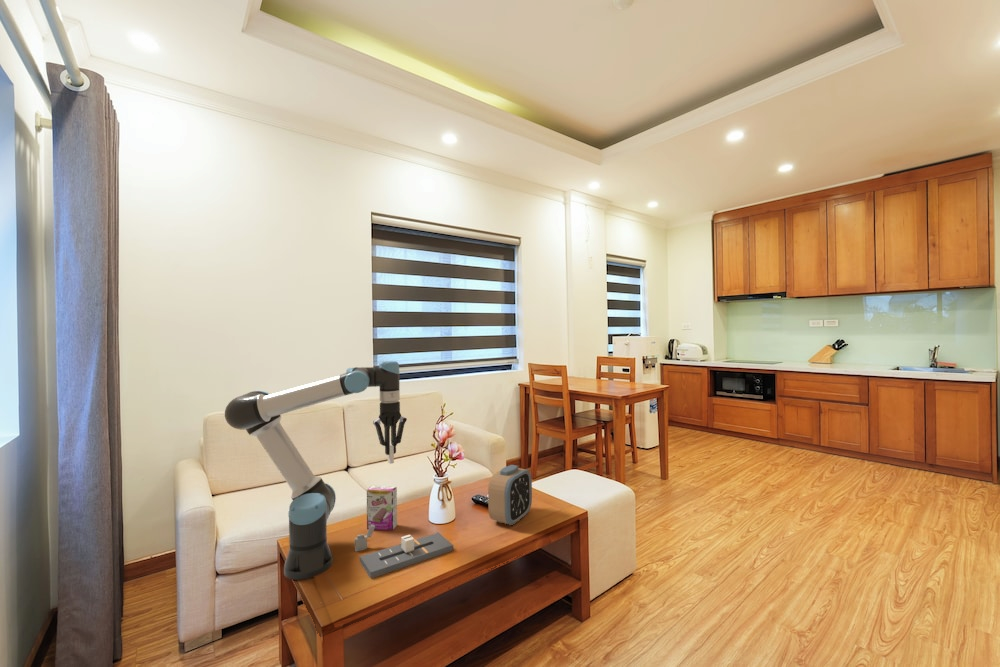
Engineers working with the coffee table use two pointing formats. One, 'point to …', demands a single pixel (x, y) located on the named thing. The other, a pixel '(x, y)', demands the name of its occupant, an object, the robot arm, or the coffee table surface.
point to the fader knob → (407, 543)
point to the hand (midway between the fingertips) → (390, 462)
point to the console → (404, 555)
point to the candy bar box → (382, 507)
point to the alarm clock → (510, 494)
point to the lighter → (363, 539)
